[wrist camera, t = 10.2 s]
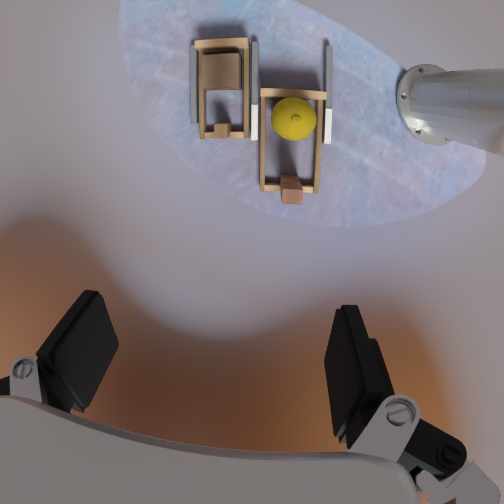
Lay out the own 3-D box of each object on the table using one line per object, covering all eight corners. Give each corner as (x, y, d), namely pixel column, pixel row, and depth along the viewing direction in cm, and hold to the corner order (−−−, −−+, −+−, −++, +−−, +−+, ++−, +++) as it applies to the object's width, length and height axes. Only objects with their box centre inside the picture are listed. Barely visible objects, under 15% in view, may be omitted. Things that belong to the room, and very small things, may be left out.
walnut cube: (242, 59, 32) (238, 53, 28) (242, 89, 35) (238, 87, 31) (209, 60, 33) (201, 55, 29) (209, 90, 35) (201, 88, 31)
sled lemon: (321, 93, 34) (332, 90, 27) (316, 190, 40) (325, 207, 34) (261, 90, 34) (259, 85, 28) (260, 188, 41) (258, 204, 34)
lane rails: (330, 48, 31) (332, 46, 29) (328, 142, 37) (330, 143, 36) (252, 43, 31) (251, 41, 30) (252, 138, 38) (251, 140, 36)
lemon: (262, 123, 37) (261, 126, 29) (285, 90, 34) (289, 85, 27) (296, 145, 38) (303, 153, 31) (319, 113, 35) (331, 114, 28)
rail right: (198, 46, 32) (196, 44, 30) (199, 123, 37) (196, 123, 36) (193, 47, 32) (190, 45, 30) (193, 123, 37) (190, 123, 36)
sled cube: (249, 44, 31) (247, 37, 28) (249, 136, 38) (246, 139, 34) (201, 46, 32) (194, 40, 28) (202, 137, 38) (195, 140, 34)
